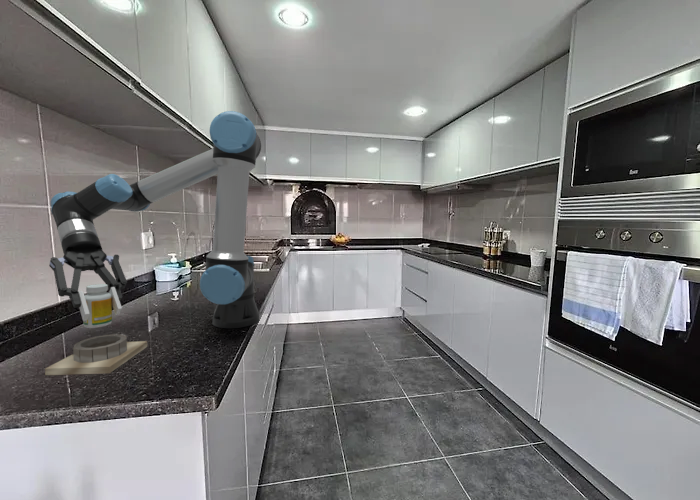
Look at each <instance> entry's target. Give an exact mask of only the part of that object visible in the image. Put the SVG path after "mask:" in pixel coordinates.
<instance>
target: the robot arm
mask: <svg viewBox="0 0 700 500" xmlns="http://www.w3.org/2000/svg"><path fill="white" fill-rule="evenodd" d="M209 136H210V140H211V142H212V144H213V147H212V148H211V149H209V150H206V151H204V152H201V153H199V154H197V155H195V156H193V157H190V158H188V159H186V160H184V161H181V162H179V163H177V164H175V165H172V166H170V167H167V168H165V169H163V170H161V171H158V172H156V173H153V174H151V175H149V176H146V177H144V178H142V179H140V180H138V181H136V182H133V183H130V184H129V183H128V182H127V181H126V180H125V179H124V178H123V177H120V175H117V174H115V173H110V174H106V175H105V176H102V177H100V178H98V179H97V180H96V181H95V182H93V183H91V184H90V185H88V186H86V187H85V188H83V189H82V190H80V191H78V192H75V191H65V192H58V193H56V194H55V195H53V197H51V199H50V207H51V210H50V211H51V215H52V216H53V220H54V223H55V224H56V230H57V232H58V233H57V234H58V236H59V241H60V243H61V244H60V245H61V248H62V251H63V257H59V258H57V257H55V256H54V257H51V258H50V261H49V268H50V269H51V270H52V271H53V274H54V278H55V284H56V289H57V295H58V296H59V297H65V296H67V297H68V299H69V300H71V303H72V307H73V308H74V309H77V308H79V312H80V315H81V318H82V321H86V320H88V317H89V314H90V313H89V310H88V306H87V303H86V299H85V294H84V290H79V287H80V281H81V276H82V272H87V271H94V273H95V274H96V275H98V276H99V277H100V279H101V280H102V281H103V283H105V284H107V285H108V290H109V291H108V293H110V294H111V296H112V310H113V312H114V314H115V316H119V315H120V313H121V312H122V309H123V307H122V304H121V301H122V298H123V294H122V291H121V290H124V289H125V288H126V286H127V283H128V280H127V279H126V276H125V273H124V271H123V269H122V266H121V264H120V262H119V261H120V255H119V254H113V255H107V253H105V252H104V251H103V247H102V244H101V241H100V238H99V235H98V232H97V229H96V227H95V223H94V220H95V219H96V218H99V217H101V216H103V214H106V213H107V212H108V211H111V210H117V211H118V210H120V211H128V212H129V211H130V212H141V211H142V212H143V211H145V210H147V209H148V208H149V207H150V206H151V204H153V203H155V202H157V201H160V200H162V199H165V198H166V197H169V196H171V195H173V194H176V193H178V192H180V191H182V190H185V189H187V188H189V187H191V186H193V185H195V184H198V183H200V182H203V181H205V180H207V179H210V178H211V177H214V176H216V175H217V177H216V178H217V180H216V190H215V192H216V193H215V194H216V195H215V207H214V221H213V222H214V224H213V225H214V226H213V238H212V250H211V251H210V252H209V253H207V254H206V256H205V257H206V258H205V269H204V272H202V275H201V277H200V279H199V290H200V292H201V294H202V295H203V297H205V298H206V299H207V300H208V301H209V302H210V303H213V304H216V306H215V309H214V312H213V315H212V325H213V327H216V328H220V329H240V328H246V327H250V326H252V325H255V324H257V323H258V322H259V321H260V312H259V309H258V306H257V304H256V300H255V279H254V277H255V272H254V271H255V269H254V268H255V263H254V257H253V256H251V255H247V254H246V253H245V251H244V249H245V239H246V238H245V237H246V228H247V227H246V224H247V212H248V210H247V209H248V197H249V184H250V172H251V171H252V170H254V169H255V168H256V163H257V162H256V161H257V159H258V158H259V156H260V154H261V150H262V143H261V138H260V137H259V135H258V132H257V130H256V127H255V125H254V123H253V122H252V120H250V119H249V118H248V117H247V116H246V115H245V114H243V113H241V112H239V111H233V110H227V111H224V112H221V113H219V114H218V115H215V117H214V118H213V119H212V121H211V123H210V125H209ZM106 261H107V264H108V265H109V266H110V267H111V271H112V273H113V274H112V273H111V272H110V271H109V270H108V269H107V267H106V265H105V263H104V262H106ZM64 264H66V265H68V266H69V267H71V268H73V273H72V274H73V275H72V281H71V286H70V287H68V286H67V285H68V284H67V281H66V275H65V271H64Z"/></svg>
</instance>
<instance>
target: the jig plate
mask: <svg viewBox="0 0 700 500" xmlns="http://www.w3.org/2000/svg"><path fill="white" fill-rule="evenodd" d="M127 337H128V336H127V335H125V334H118V333H115V334H114V333H113V334H111V333H109V334H104V335H97V336H93V337H89V338H86V339H85V338H84V339H83V340H80V341H79V342H75V343H74V345H73V347H72V354H71V355H68V356H66V357H65V358H63V359H60V360H59V361H57V362H55V363H53V364H51V365H49V366H47V367H45V368H44V371H45V372H44V374H45V376H65V375H66V376H68V375H72V376H73V375H97V374H98V375H99V374H101V375H102V374H103V375H104V374H105V375H106V374H111V373H112V372H113V371H115V370H117V369H118V368H120V367H121V366H122V365H123V364H125V363H127V362H128V361H129V360H131V359H133V357H135V356H136V355H138V354H140V353H141V352H142V351H144V350H145V349H147V347H148V341H146V340H145V341H142V340H141V341H127Z"/></svg>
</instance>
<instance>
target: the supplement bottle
mask: <svg viewBox="0 0 700 500" xmlns="http://www.w3.org/2000/svg"><path fill="white" fill-rule="evenodd" d="M85 287H86V288H85V292H86V293H87V294H84V296H85V299H86V303H87V306H88V310H89V313H90V314H89V317H88V320H86V321H83V320H82V321H83V327H84V328H87V329H96V328H102V327H106V326H109V325H110V324H112V322H113V306H112V296H111V294H110V293H109V291H108V290H109V287H108V285H107V284H104V283H100V284H99V283H98V284H91V285H87V286H85ZM107 291H108V292H107Z"/></svg>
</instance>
